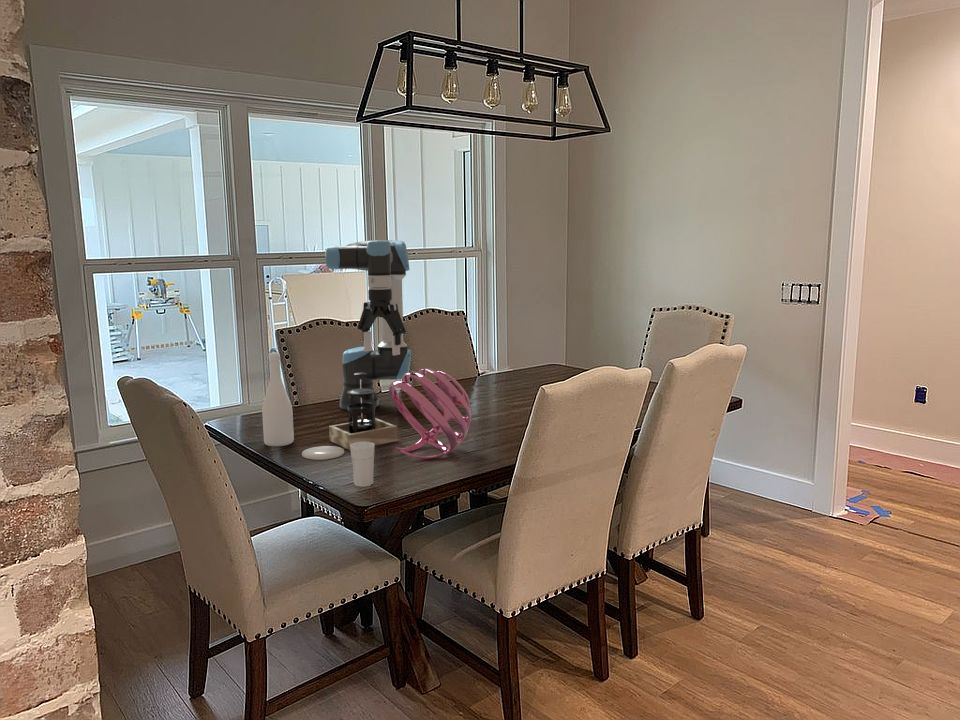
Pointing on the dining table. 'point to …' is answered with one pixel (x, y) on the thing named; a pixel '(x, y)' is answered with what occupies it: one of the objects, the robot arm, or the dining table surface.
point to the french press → (369, 410)
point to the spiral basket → (433, 410)
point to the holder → (363, 434)
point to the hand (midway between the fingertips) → (381, 353)
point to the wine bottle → (277, 408)
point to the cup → (362, 463)
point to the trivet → (323, 452)
